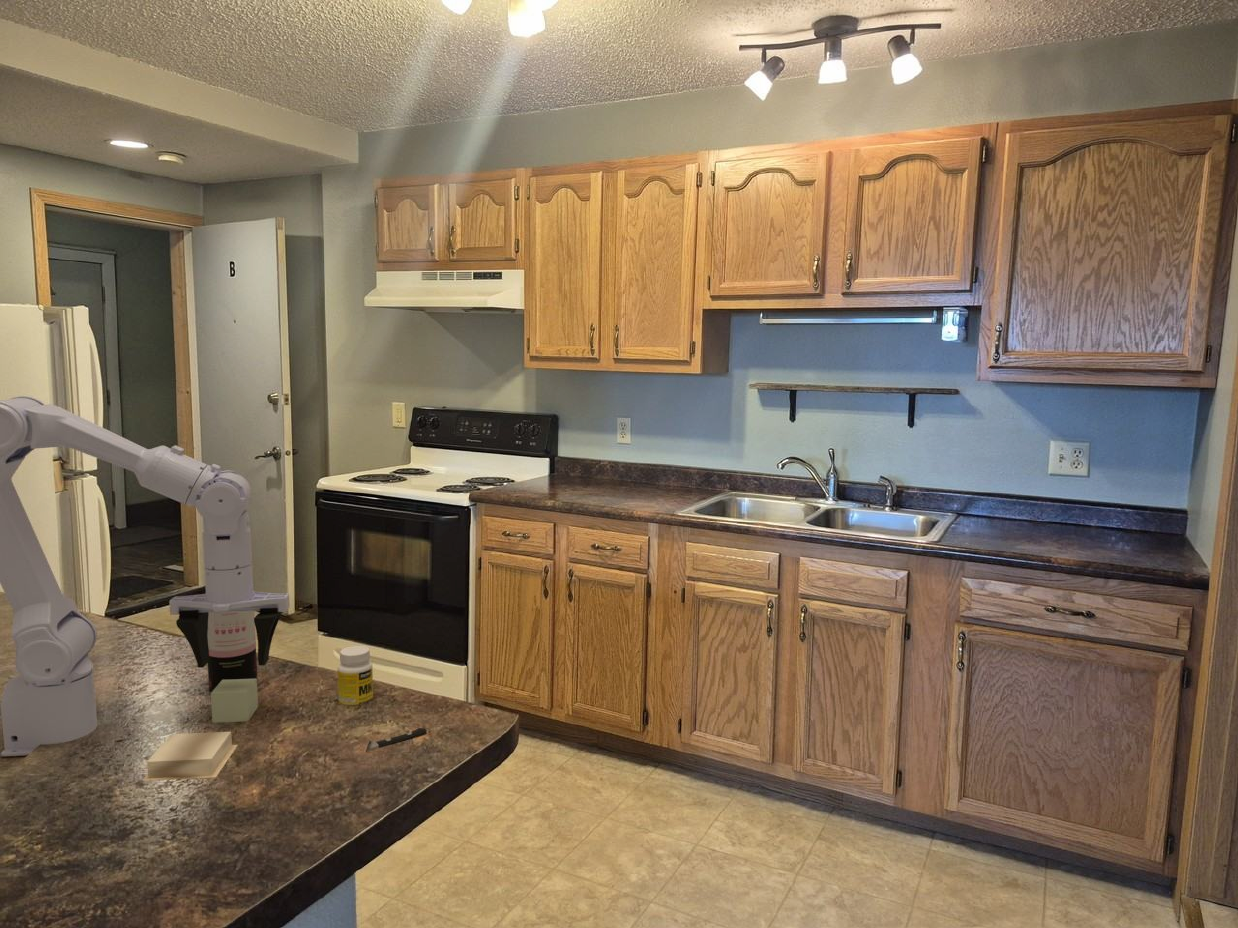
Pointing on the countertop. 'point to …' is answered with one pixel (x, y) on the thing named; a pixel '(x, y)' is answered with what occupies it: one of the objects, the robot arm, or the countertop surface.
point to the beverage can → (231, 647)
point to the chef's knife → (395, 739)
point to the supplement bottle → (355, 676)
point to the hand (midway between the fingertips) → (233, 663)
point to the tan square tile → (189, 755)
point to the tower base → (198, 776)
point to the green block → (234, 700)
